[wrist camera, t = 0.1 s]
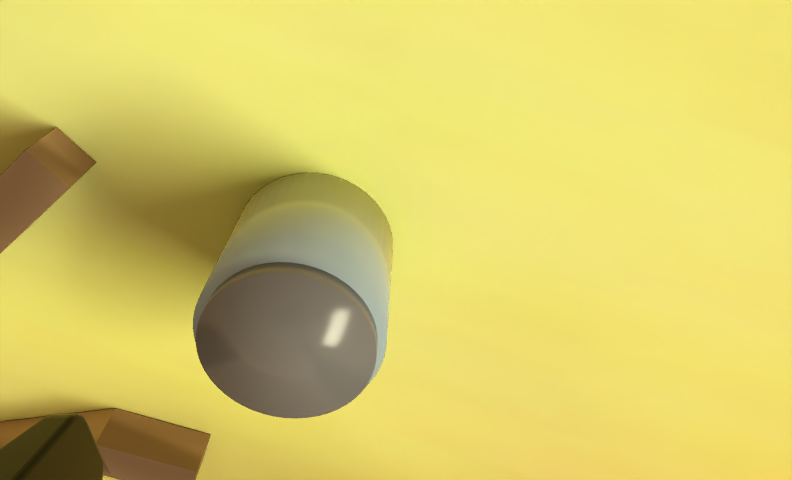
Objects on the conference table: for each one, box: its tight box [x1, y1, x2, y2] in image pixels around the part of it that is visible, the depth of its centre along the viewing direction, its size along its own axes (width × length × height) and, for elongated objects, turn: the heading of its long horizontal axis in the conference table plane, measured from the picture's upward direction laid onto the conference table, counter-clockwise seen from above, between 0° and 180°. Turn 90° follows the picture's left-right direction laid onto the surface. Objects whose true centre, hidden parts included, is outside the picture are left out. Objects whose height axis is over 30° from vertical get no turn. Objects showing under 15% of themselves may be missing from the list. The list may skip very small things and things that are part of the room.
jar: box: [193, 173, 393, 418], centre depth 21 cm, size 6×6×6 cm
